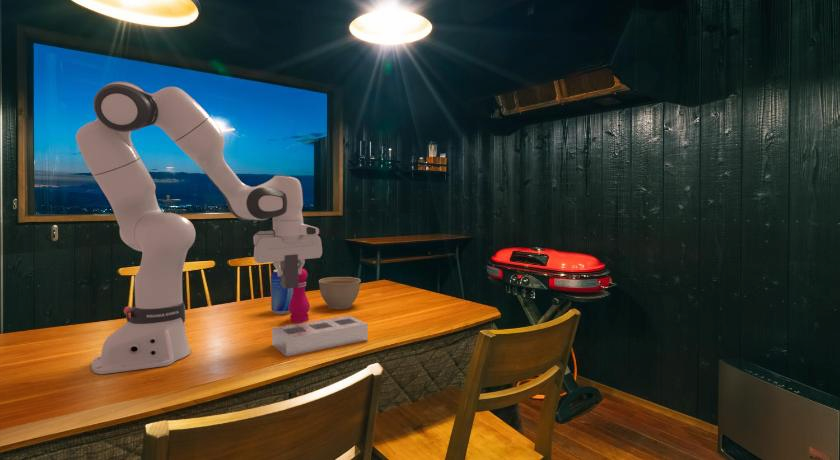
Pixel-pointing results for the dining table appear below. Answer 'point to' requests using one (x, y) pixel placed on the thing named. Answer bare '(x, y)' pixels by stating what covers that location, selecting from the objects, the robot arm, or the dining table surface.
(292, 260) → the steel block
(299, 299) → the pepper mill
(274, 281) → the beer can
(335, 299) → the planter bowl
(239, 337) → the dining table surface
